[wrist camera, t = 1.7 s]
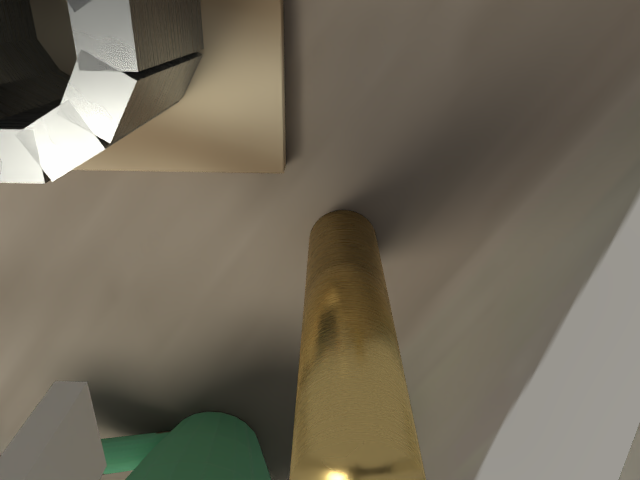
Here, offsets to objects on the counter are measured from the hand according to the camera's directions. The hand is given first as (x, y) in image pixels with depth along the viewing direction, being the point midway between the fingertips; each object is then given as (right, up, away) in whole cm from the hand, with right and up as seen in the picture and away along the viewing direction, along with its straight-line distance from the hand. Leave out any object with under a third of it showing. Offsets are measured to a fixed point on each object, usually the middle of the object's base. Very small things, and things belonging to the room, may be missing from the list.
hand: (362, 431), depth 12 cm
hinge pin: (0, +5, +11) cm, 12 cm away
